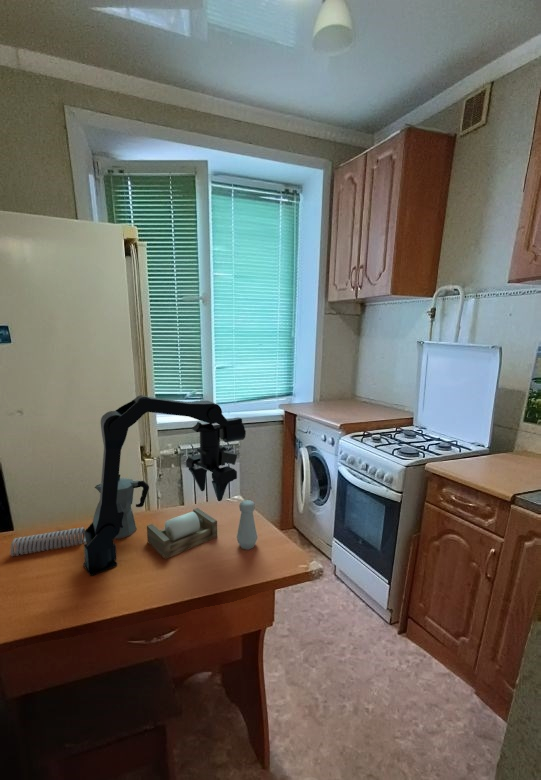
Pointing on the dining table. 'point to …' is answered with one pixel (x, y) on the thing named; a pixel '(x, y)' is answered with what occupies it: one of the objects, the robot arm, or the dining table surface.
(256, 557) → the dining table surface
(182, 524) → the cylinder
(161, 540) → the cradle
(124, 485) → the coffeepot
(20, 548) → the coil
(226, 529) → the dining table surface
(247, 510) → the salt shaker
